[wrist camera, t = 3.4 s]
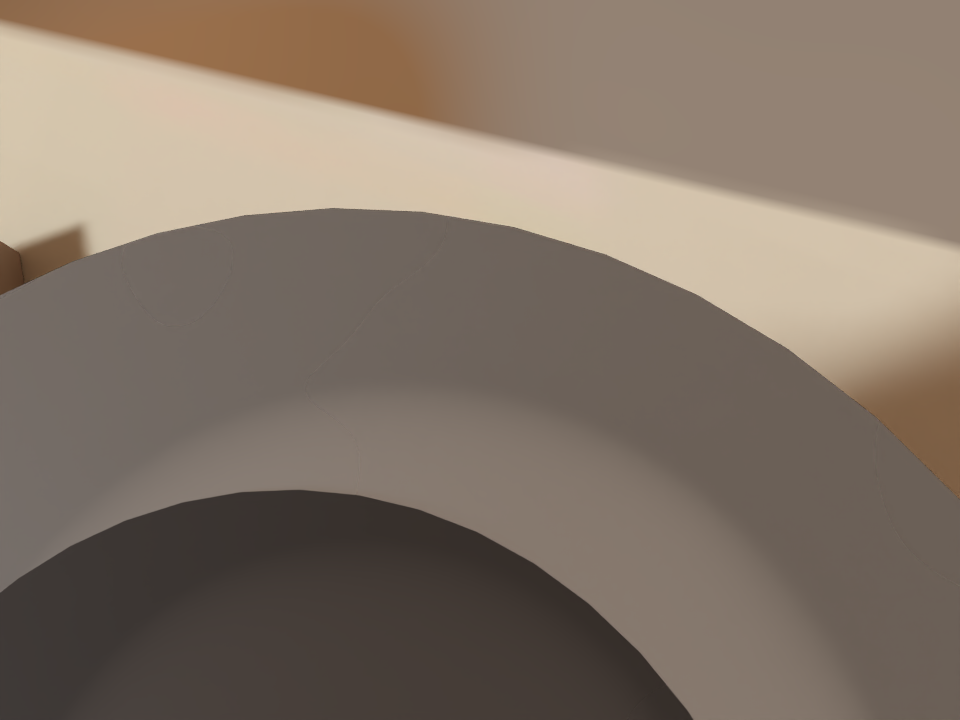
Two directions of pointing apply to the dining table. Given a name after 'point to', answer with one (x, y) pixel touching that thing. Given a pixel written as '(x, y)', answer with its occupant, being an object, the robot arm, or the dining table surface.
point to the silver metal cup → (445, 492)
